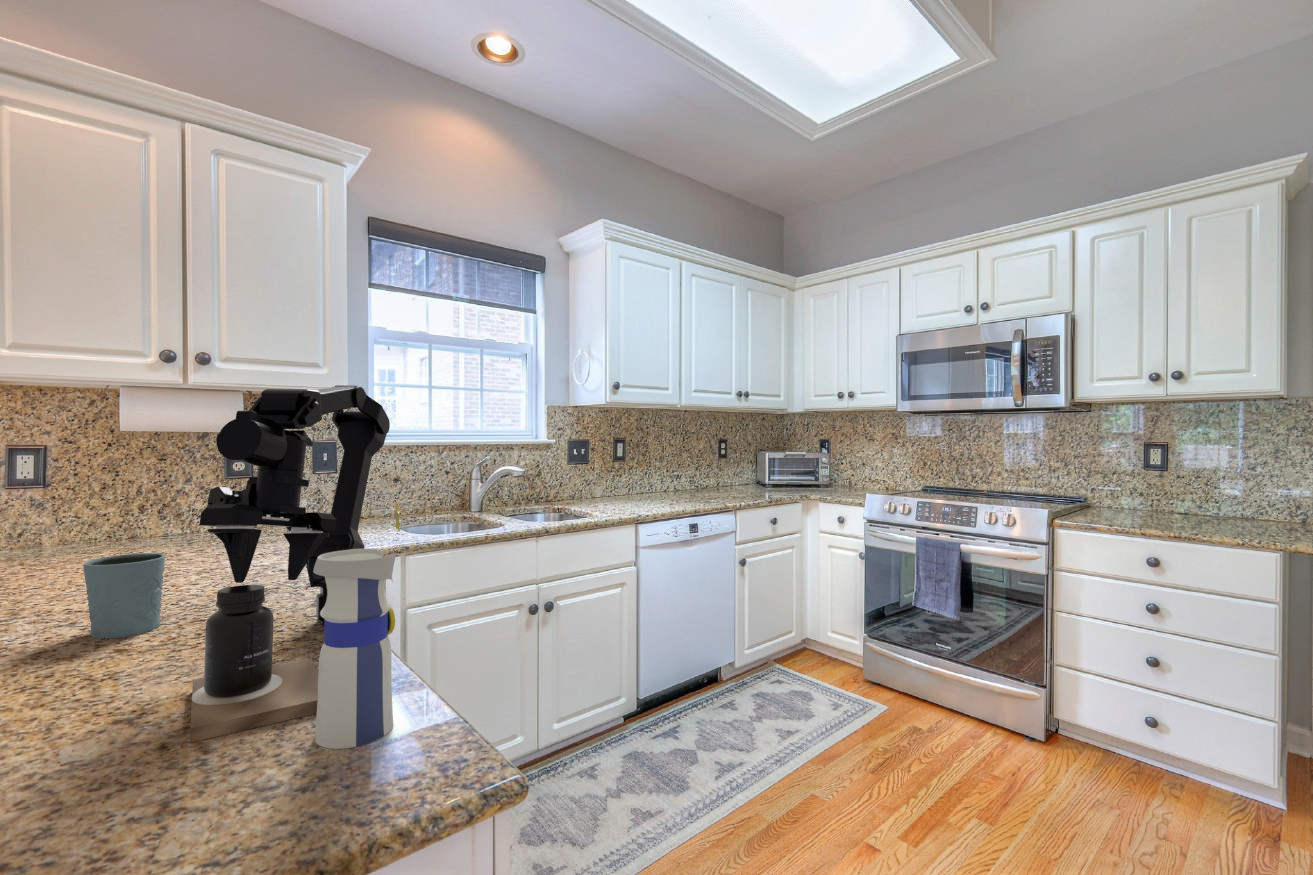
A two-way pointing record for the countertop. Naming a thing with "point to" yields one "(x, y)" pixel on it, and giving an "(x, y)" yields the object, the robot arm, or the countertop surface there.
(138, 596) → the blue-grey cup
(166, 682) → the countertop surface
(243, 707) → the walnut board
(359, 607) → the water bottle
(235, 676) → the supplement bottle
